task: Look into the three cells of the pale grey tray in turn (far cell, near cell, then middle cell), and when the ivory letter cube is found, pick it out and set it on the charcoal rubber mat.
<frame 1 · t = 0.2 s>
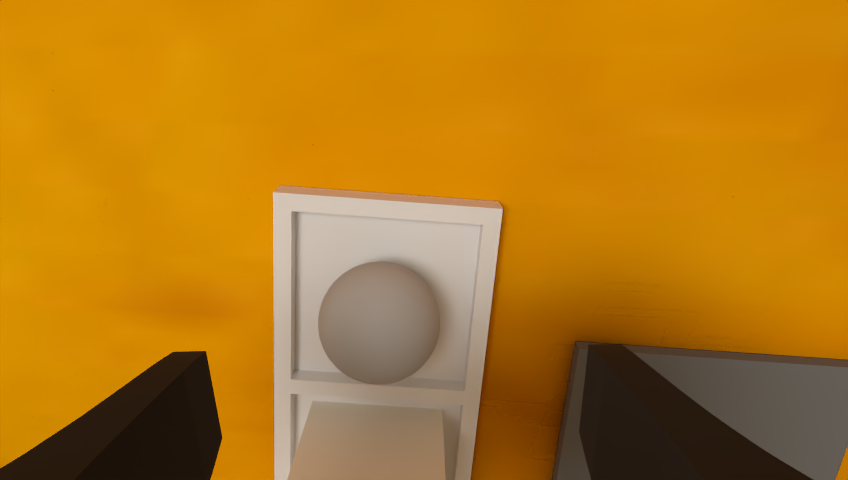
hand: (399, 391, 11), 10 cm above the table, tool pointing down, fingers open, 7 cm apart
sorting tray: (375, 454, 24), on the table
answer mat: (688, 471, 24), on the table
letter cube: (374, 458, 23), resting on sorting tray
grey ball: (383, 297, 21), resting on sorting tray
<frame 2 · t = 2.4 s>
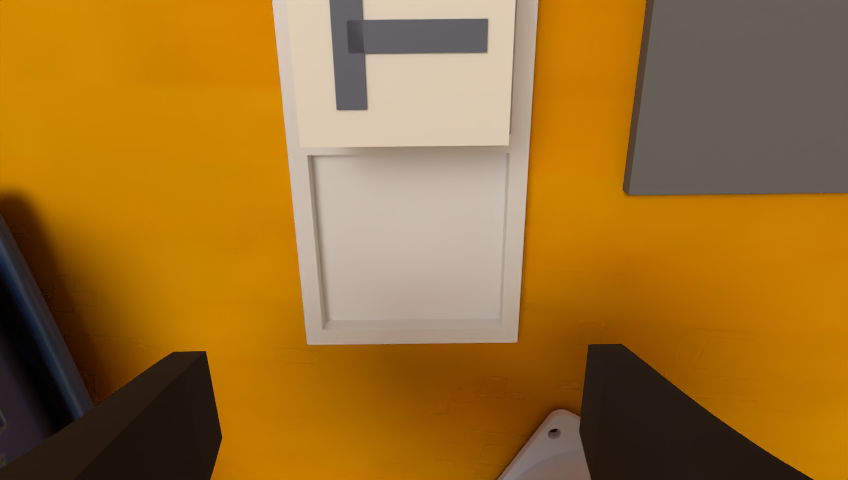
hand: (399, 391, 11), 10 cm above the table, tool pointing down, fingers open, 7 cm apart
sorting tray: (406, 24, 18), on the table
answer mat: (824, 15, 18), on the table
letter cube: (406, 24, 18), resting on sorting tray
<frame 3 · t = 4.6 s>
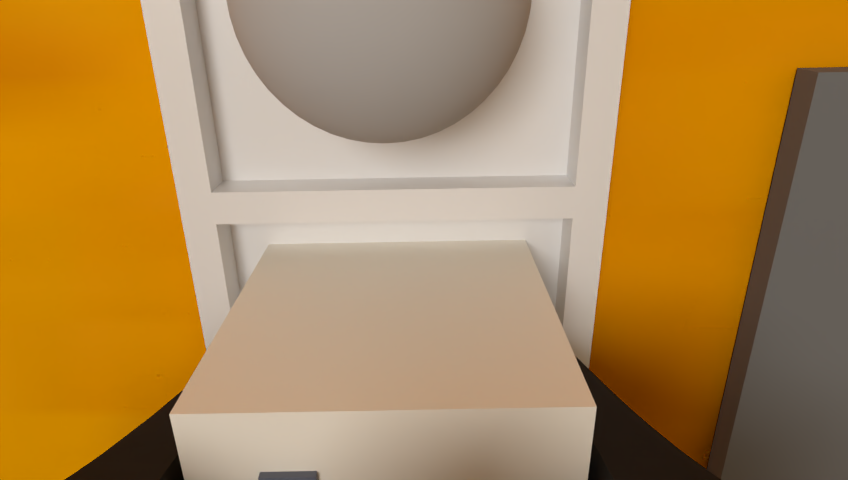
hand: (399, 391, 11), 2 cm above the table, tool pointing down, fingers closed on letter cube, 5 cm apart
sorting tray: (401, 342, 13), on the table
letter cube: (400, 350, 12), resting on sorting tray, touching gripper
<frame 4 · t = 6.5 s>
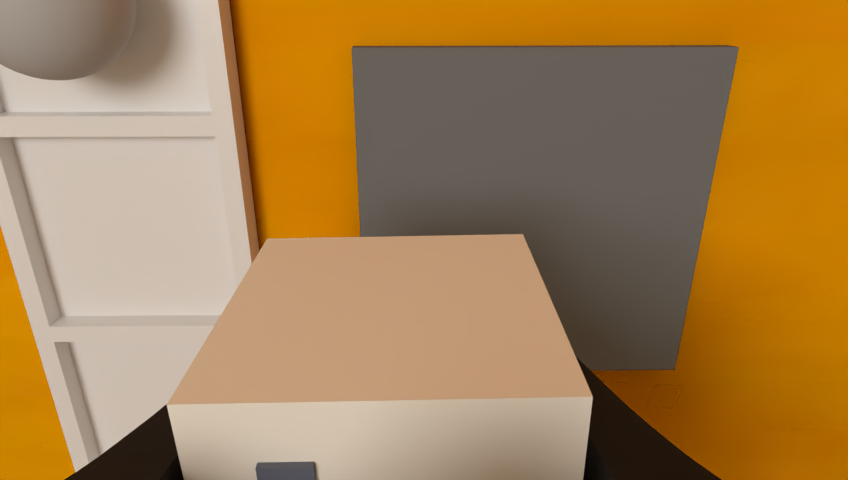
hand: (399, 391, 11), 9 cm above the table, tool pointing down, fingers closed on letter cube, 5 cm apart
sorting tray: (140, 226, 19), on the table
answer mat: (528, 220, 19), on the table
letter cube: (399, 345, 12), point 7 cm above the table, touching gripper
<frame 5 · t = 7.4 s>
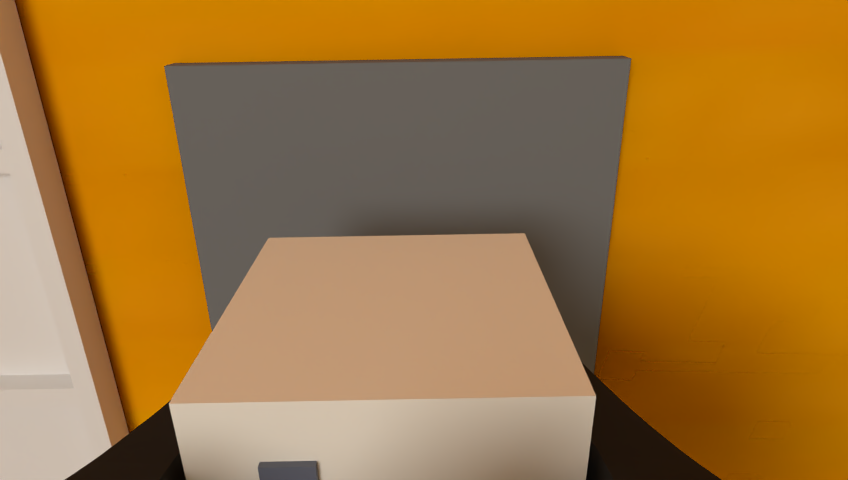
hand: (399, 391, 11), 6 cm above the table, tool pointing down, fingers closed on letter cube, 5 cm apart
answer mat: (404, 262, 17), on the table
letter cube: (400, 344, 12), point 4 cm above the table, touching gripper
when the fingers open (4 cm above the table, at t = 8.3 s): letter cube drops 2 cm, resting on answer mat.
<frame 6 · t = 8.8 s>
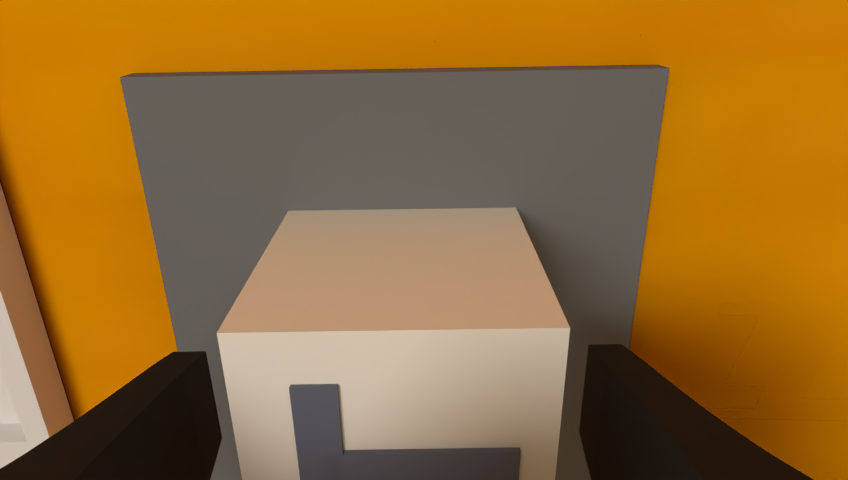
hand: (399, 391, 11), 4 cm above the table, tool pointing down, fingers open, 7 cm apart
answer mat: (403, 299, 14), on the table
letter cube: (405, 308, 14), point 1 cm above the table, touching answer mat
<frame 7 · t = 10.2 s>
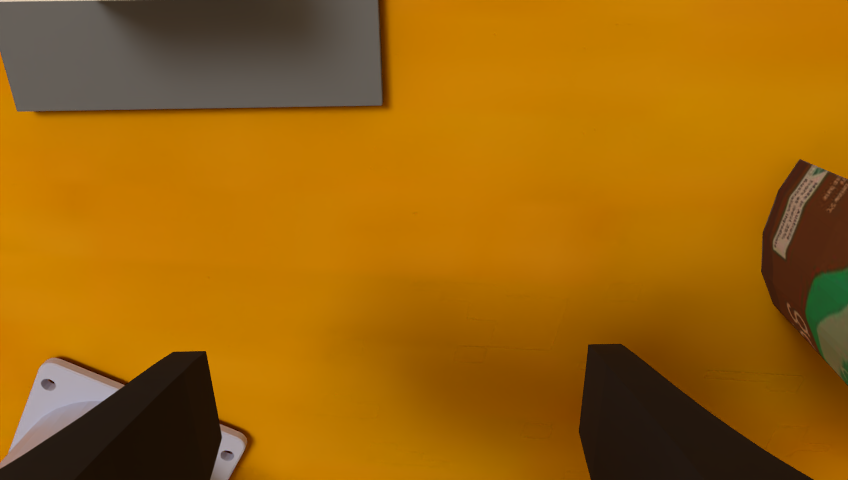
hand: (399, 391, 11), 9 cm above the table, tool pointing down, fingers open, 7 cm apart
food container: (837, 288, 21), on the table
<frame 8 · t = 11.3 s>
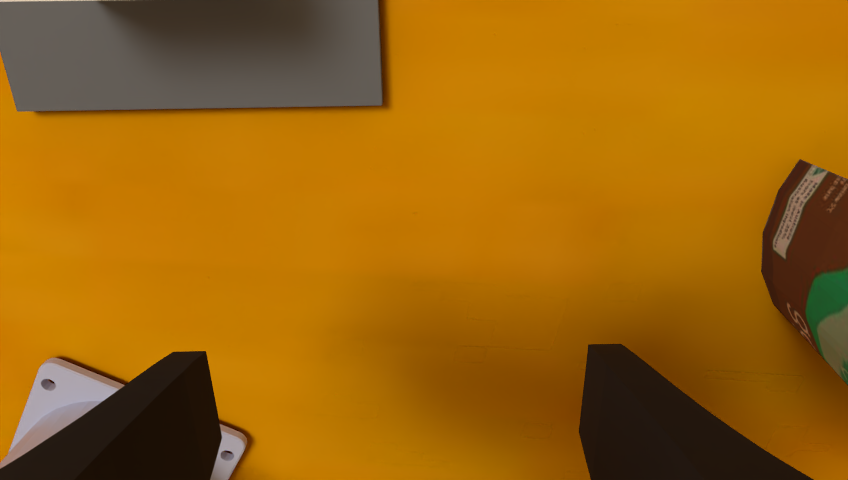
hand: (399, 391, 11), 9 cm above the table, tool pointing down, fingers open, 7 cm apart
food container: (837, 288, 21), on the table
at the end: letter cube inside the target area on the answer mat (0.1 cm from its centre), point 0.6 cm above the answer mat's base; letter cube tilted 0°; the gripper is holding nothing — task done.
